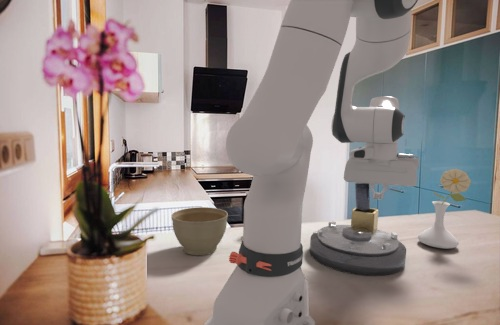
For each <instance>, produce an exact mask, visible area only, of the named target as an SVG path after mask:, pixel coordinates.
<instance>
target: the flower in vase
mask: <svg viewBox="0 0 500 325" xmlns="http://www.w3.org/2000/svg"><path fill="white" fill-rule="evenodd" d="M439 182H440V184H441V187H442V186H443V188H442V189H443V190H445V191H448V192H450V193H449V194H448V196H447V197H446V198H445V197H444V196H442V195H441V194H438V193H436V192H435V191H434V190H433V191H432V192H433V194H434V195H435V196H437V197H439V198H441V199H443V201H439V200H435V201H434V200H433V201H431V203H432V205H433V207H434V210H435V218H434V219H435V220H434V221H435V222H434V224H433V225H432V226H431V227H429V228H426V229H425V230H423V231H421V232H420V233H419V234H418V235H417V239H418V241H419V242H421V243H422V244H424V245H427V246H429V247H432V248H437V249H444V250H445V249H453V248H454V249H455V248H457V247H458V246H459V244H460V243H459V240H458V239H457V238H456V237H455V235H453V234H452V233H451V232H450V231H449V230H448V229H447V228H446V227H445V225H444V221H445V220H444V219H445V213H446V210H447V209H448V208H449V206H451V203H449V202H447V200H448V199H449V198H451V199H452V200H453V201H455V202H464V201H467V199H466V197H465V196H463V195H462V194H461V193H464V192H466V191H468V190H469V187H470V186H471V184H472V180H471V179H470V177H469V176H468V173H466V172H465V171H463V170H462V169H457V168H453V169H449V170H445V171H443V172H442V175H441V176H440V180H439Z"/></svg>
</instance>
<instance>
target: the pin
mask: <svg viewBox="0 0 500 325" xmlns="http://www.w3.org/2000/svg"><path fill="white" fill-rule="evenodd" d="M354 184H355V185H354V187H355V208H356V211H361V212H367V213H370V208H371V202H370V197H371V196H370V187H369V186H370V184H369V183H356V182H354Z"/></svg>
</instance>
